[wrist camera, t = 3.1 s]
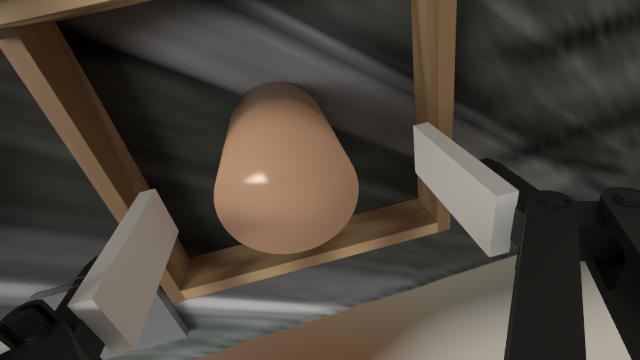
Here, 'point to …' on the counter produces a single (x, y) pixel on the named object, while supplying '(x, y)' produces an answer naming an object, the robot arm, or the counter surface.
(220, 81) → the counter surface
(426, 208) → the frame
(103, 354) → the plate
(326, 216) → the tan rounded cylinder
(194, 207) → the counter surface
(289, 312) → the counter surface
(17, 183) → the counter surface
